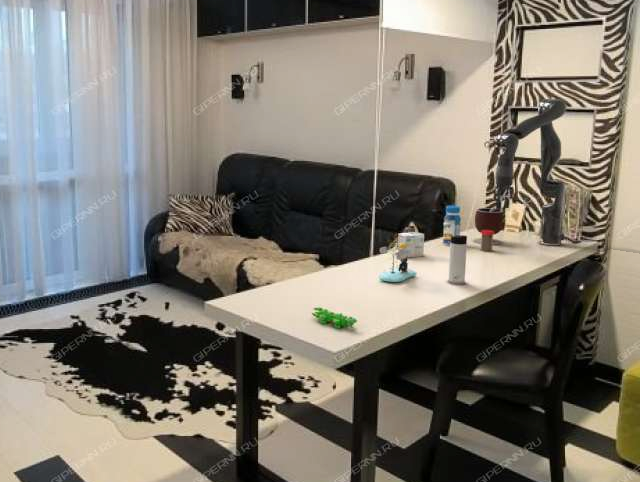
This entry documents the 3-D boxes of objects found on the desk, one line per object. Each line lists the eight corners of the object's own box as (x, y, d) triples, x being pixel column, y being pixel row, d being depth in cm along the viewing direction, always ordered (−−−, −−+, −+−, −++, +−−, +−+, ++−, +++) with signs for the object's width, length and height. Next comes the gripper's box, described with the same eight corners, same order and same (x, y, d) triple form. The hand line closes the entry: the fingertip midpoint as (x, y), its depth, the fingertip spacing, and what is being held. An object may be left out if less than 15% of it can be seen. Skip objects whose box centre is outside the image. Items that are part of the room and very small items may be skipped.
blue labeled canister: (462, 246, 310) (464, 207, 307) (445, 246, 311) (447, 207, 307) (456, 242, 319) (458, 205, 316) (440, 242, 319) (442, 205, 316)
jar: (487, 248, 305) (488, 230, 303) (494, 250, 300) (495, 232, 298) (478, 249, 303) (479, 231, 301) (485, 251, 298) (487, 233, 297)
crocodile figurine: (350, 333, 194) (350, 320, 193) (306, 319, 206) (306, 307, 206) (362, 327, 198) (362, 315, 197) (318, 314, 211) (319, 302, 210)
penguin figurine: (399, 271, 265) (400, 237, 263) (421, 275, 257) (422, 241, 255) (372, 280, 252) (373, 244, 249) (395, 285, 244) (396, 249, 241)
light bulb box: (415, 252, 297) (416, 231, 295) (424, 256, 291) (425, 234, 289) (397, 254, 294) (397, 233, 292) (404, 257, 287) (405, 235, 286)
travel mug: (457, 285, 243) (460, 237, 240) (445, 281, 249) (447, 234, 246) (468, 283, 246) (471, 235, 243) (456, 279, 252) (458, 232, 248)
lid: (488, 232, 304) (488, 229, 303) (496, 234, 298) (496, 231, 298) (478, 233, 302) (478, 230, 302) (486, 235, 296) (486, 232, 296)
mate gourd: (470, 238, 327) (472, 202, 324) (497, 239, 325) (500, 202, 322) (477, 245, 312) (480, 207, 309) (506, 245, 310) (508, 207, 307)
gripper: (504, 176, 284) (502, 211, 287) (519, 174, 293) (517, 208, 295) (489, 175, 290) (487, 209, 292) (504, 173, 299) (502, 206, 301)
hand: (502, 208), depth 294 cm, fingers open, 7 cm apart
